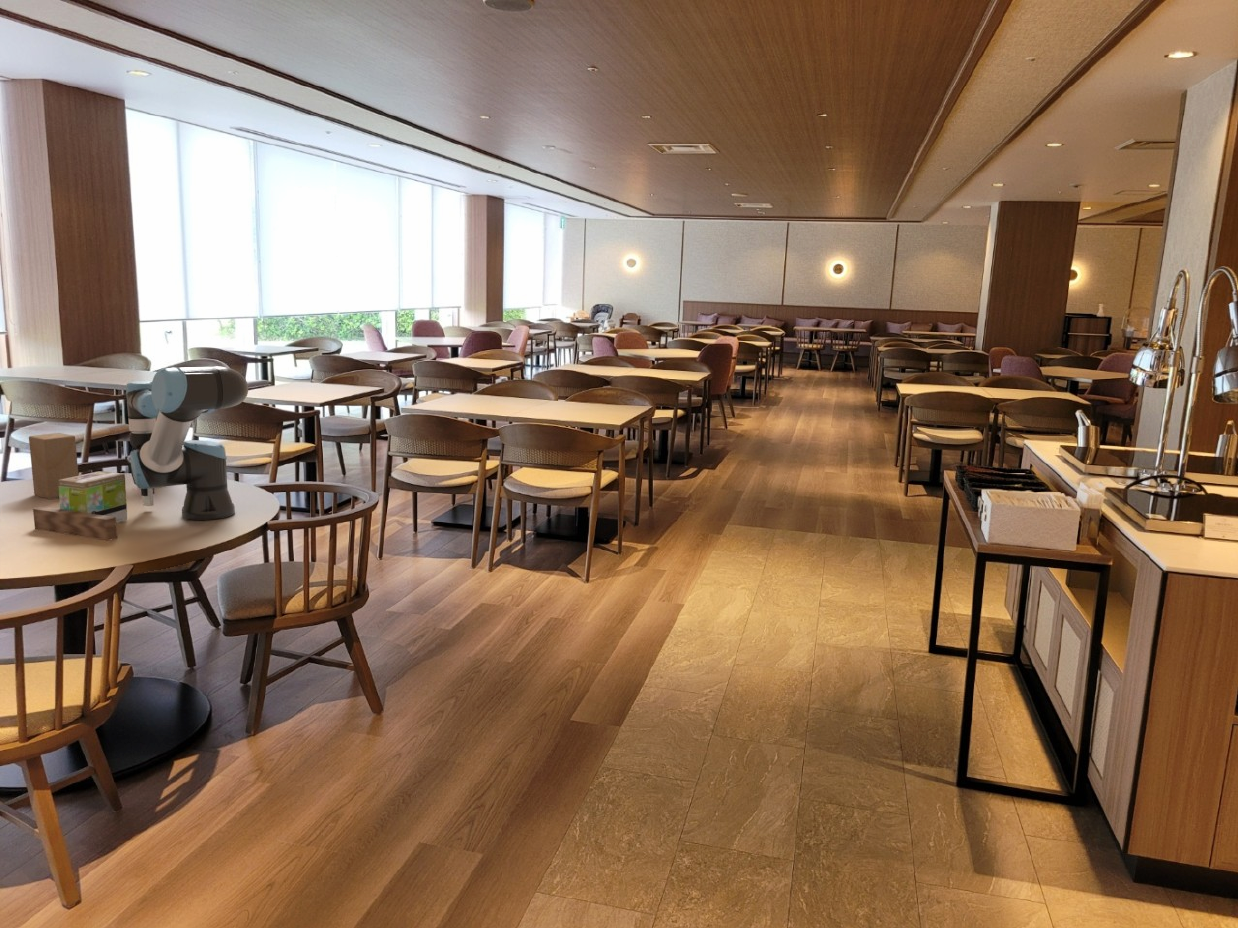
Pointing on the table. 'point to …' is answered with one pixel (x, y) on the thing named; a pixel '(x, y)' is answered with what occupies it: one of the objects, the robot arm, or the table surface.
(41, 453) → the wooden block
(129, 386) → the robot arm
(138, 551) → the table surface
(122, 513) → the tea box
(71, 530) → the walnut plank
